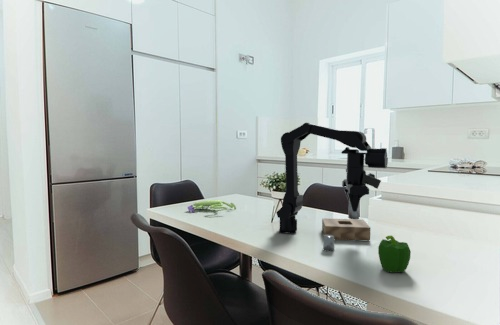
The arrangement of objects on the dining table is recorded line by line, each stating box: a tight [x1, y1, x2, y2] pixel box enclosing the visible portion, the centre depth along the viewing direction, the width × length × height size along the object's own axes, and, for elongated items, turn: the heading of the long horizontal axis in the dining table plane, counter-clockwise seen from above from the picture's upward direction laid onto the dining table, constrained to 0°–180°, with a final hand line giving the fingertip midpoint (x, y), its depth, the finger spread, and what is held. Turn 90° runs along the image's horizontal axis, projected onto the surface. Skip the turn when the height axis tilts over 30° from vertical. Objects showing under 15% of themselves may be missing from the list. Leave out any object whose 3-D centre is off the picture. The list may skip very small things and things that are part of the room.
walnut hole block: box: [321, 218, 371, 241], centre depth 122 cm, size 16×12×5 cm
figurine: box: [187, 199, 237, 213], centre depth 167 cm, size 18×27×6 cm
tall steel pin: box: [347, 200, 361, 219], centre depth 113 cm, size 4×4×8 cm
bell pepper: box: [377, 235, 411, 273], centre depth 89 cm, size 8×8×10 cm
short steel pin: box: [322, 234, 335, 252], centre depth 106 cm, size 4×4×4 cm
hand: (353, 210), depth 113 cm, fingers closed on tall steel pin, 4 cm apart
